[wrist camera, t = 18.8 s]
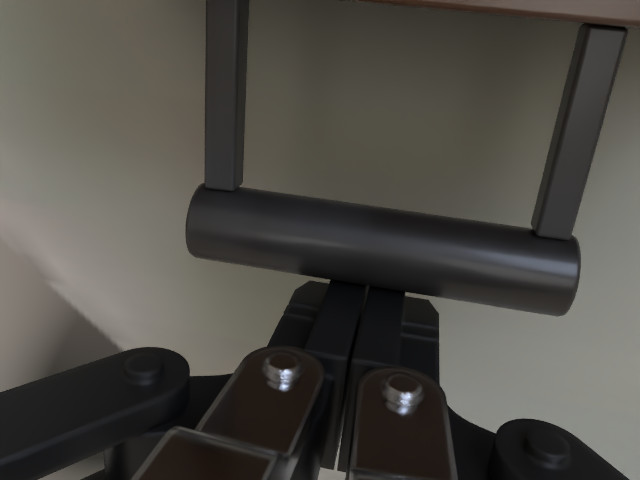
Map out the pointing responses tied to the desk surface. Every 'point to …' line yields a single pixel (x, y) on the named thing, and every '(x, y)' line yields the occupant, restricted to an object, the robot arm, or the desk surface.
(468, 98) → the desk surface
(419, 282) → the drawer
